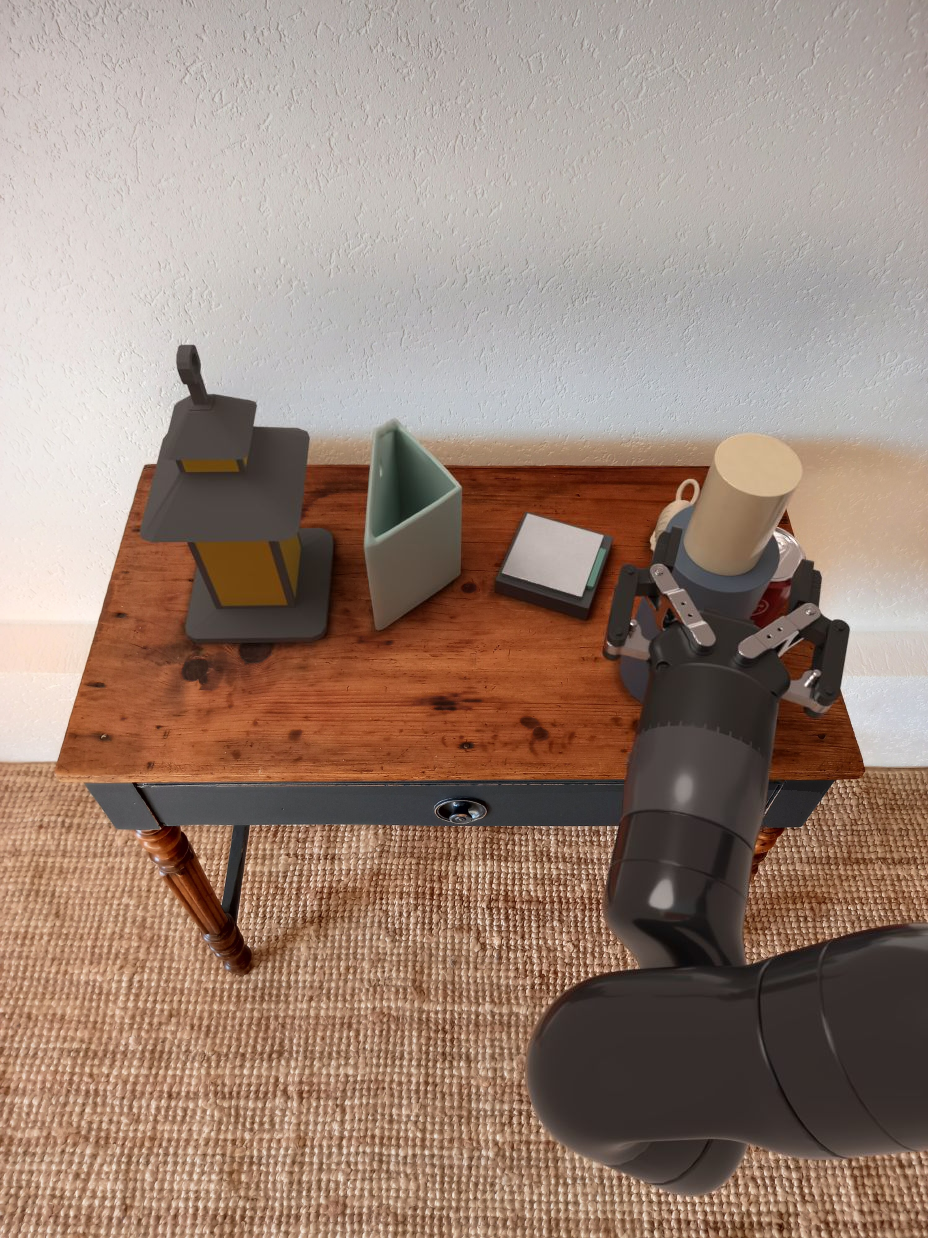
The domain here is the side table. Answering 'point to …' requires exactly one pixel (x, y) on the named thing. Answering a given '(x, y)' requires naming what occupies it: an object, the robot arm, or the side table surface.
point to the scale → (554, 565)
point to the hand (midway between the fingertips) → (738, 550)
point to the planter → (409, 524)
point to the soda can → (779, 580)
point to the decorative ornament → (674, 510)
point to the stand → (701, 597)
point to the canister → (741, 503)
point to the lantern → (239, 519)
